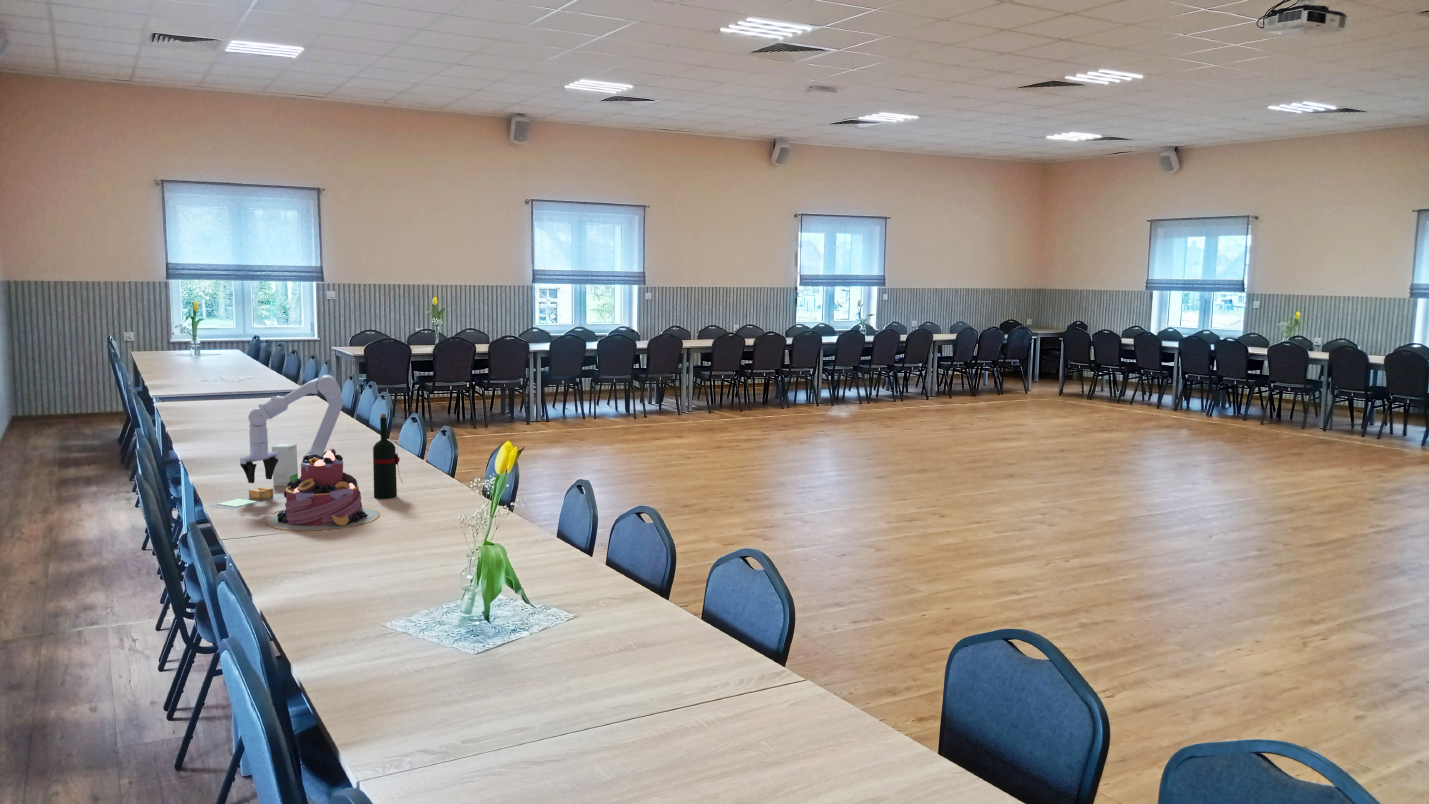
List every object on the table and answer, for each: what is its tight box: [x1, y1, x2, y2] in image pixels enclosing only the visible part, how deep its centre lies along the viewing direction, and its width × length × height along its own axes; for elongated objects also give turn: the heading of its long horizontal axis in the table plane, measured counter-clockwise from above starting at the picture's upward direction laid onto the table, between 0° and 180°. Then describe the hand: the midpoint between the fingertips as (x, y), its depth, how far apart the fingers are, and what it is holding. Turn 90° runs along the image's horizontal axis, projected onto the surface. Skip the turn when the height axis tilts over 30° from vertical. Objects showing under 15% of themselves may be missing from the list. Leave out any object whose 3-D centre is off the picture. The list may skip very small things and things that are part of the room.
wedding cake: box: [265, 448, 381, 532], centre depth 335 cm, size 35×35×23 cm
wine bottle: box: [372, 413, 404, 500], centre depth 367 cm, size 8×10×30 cm
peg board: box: [207, 493, 285, 510], centre depth 355 cm, size 12×24×3 cm, turn 156°
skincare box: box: [271, 443, 299, 487], centre depth 383 cm, size 8×7×16 cm
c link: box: [248, 486, 274, 500], centre depth 359 cm, size 6×5×3 cm
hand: (260, 480), depth 359 cm, fingers open, 7 cm apart
